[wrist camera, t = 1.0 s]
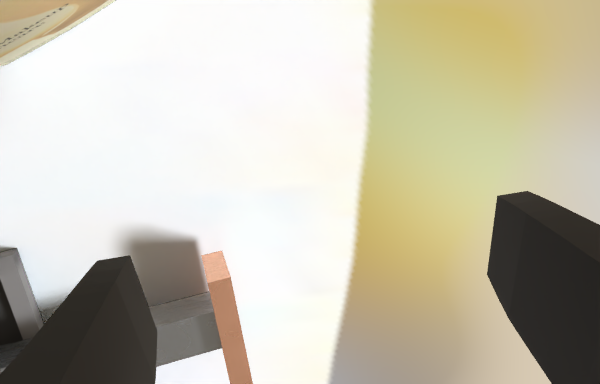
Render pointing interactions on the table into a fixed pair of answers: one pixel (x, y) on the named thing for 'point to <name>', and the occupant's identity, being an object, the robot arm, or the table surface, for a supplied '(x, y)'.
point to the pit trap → (16, 301)
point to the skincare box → (39, 23)
